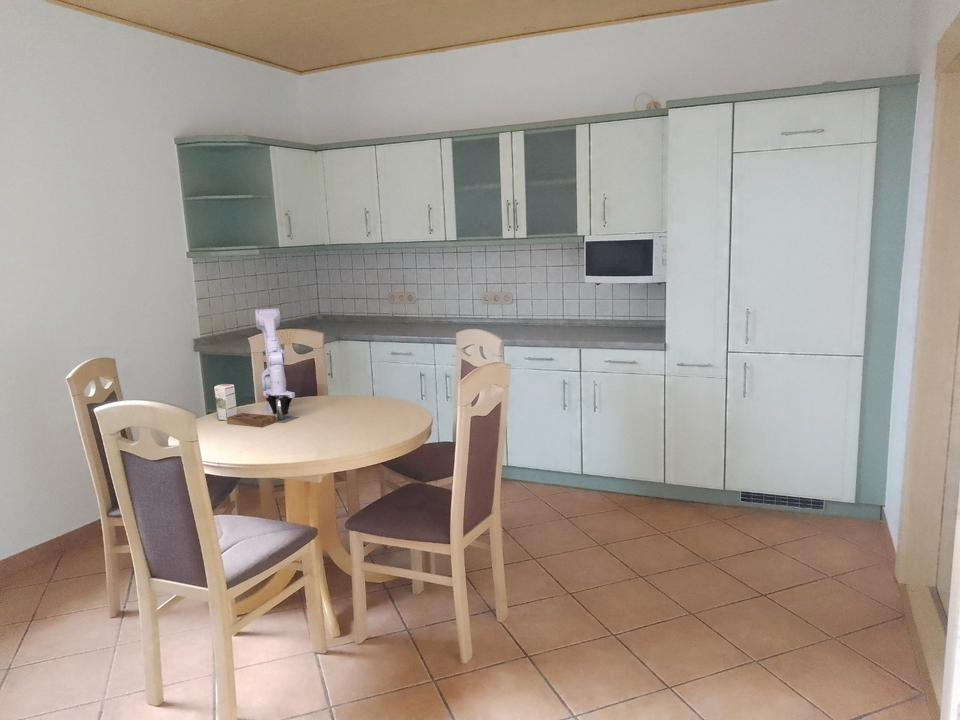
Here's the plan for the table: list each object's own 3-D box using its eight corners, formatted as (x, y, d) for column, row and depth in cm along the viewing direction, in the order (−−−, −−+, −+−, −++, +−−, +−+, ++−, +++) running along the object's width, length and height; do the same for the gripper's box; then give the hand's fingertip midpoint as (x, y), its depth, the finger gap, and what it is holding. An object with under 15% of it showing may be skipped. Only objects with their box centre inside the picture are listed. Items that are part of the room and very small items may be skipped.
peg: (280, 418, 286) (278, 397, 285) (286, 419, 285) (284, 397, 284) (275, 420, 284) (273, 398, 282) (281, 420, 283) (279, 399, 281)
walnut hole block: (242, 419, 288) (241, 412, 288) (276, 423, 281) (275, 415, 280) (227, 424, 281) (227, 417, 281) (262, 428, 273) (261, 420, 273)
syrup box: (238, 418, 292) (234, 383, 289) (227, 421, 287) (224, 386, 284) (227, 417, 294) (224, 383, 292) (217, 420, 289) (213, 386, 286)
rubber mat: (281, 416, 292) (281, 415, 292) (300, 417, 288) (300, 417, 288) (264, 422, 283) (264, 421, 283) (284, 423, 279) (284, 423, 279)
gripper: (256, 382, 281) (259, 415, 284) (285, 384, 275) (288, 417, 277) (269, 378, 288) (272, 411, 290) (297, 380, 281) (299, 413, 284)
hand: (280, 414), depth 284 cm, fingers open, 4 cm apart
